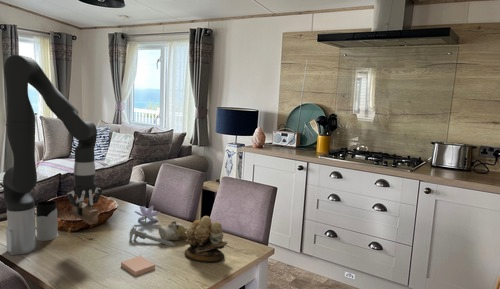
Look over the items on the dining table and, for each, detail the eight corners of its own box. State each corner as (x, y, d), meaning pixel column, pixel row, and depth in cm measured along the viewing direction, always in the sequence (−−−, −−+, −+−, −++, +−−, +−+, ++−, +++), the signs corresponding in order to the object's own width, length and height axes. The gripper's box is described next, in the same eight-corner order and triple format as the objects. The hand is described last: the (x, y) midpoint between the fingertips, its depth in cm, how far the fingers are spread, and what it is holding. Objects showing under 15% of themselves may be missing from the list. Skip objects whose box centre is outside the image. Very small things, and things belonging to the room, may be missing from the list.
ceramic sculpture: (155, 218, 164) (187, 216, 172) (154, 237, 165) (185, 234, 173) (162, 226, 155) (196, 224, 163) (161, 246, 156) (194, 243, 164)
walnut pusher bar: (90, 224, 141) (89, 211, 140) (72, 213, 151) (72, 201, 151) (97, 222, 143) (97, 210, 142) (80, 212, 154) (80, 200, 153)
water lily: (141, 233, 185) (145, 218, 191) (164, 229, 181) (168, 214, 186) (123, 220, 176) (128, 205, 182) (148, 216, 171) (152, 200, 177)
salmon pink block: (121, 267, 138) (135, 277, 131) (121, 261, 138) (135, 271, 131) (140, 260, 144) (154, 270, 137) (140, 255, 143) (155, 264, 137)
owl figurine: (231, 254, 153) (233, 214, 150) (220, 266, 141) (222, 223, 139) (191, 246, 158) (193, 208, 156) (178, 258, 147) (179, 216, 145)
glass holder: (51, 241, 156) (50, 206, 154) (18, 239, 156) (17, 204, 154) (62, 233, 165) (61, 200, 163) (31, 231, 165) (29, 198, 163)
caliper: (129, 240, 161) (129, 226, 160) (130, 240, 162) (130, 226, 161) (174, 246, 158) (175, 232, 157) (175, 245, 159) (176, 231, 158)
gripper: (69, 176, 137) (70, 221, 139) (106, 172, 147) (106, 214, 149) (62, 172, 142) (62, 216, 144) (97, 168, 152) (98, 209, 155)
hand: (84, 214), depth 147 cm, fingers closed on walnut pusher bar, 3 cm apart
